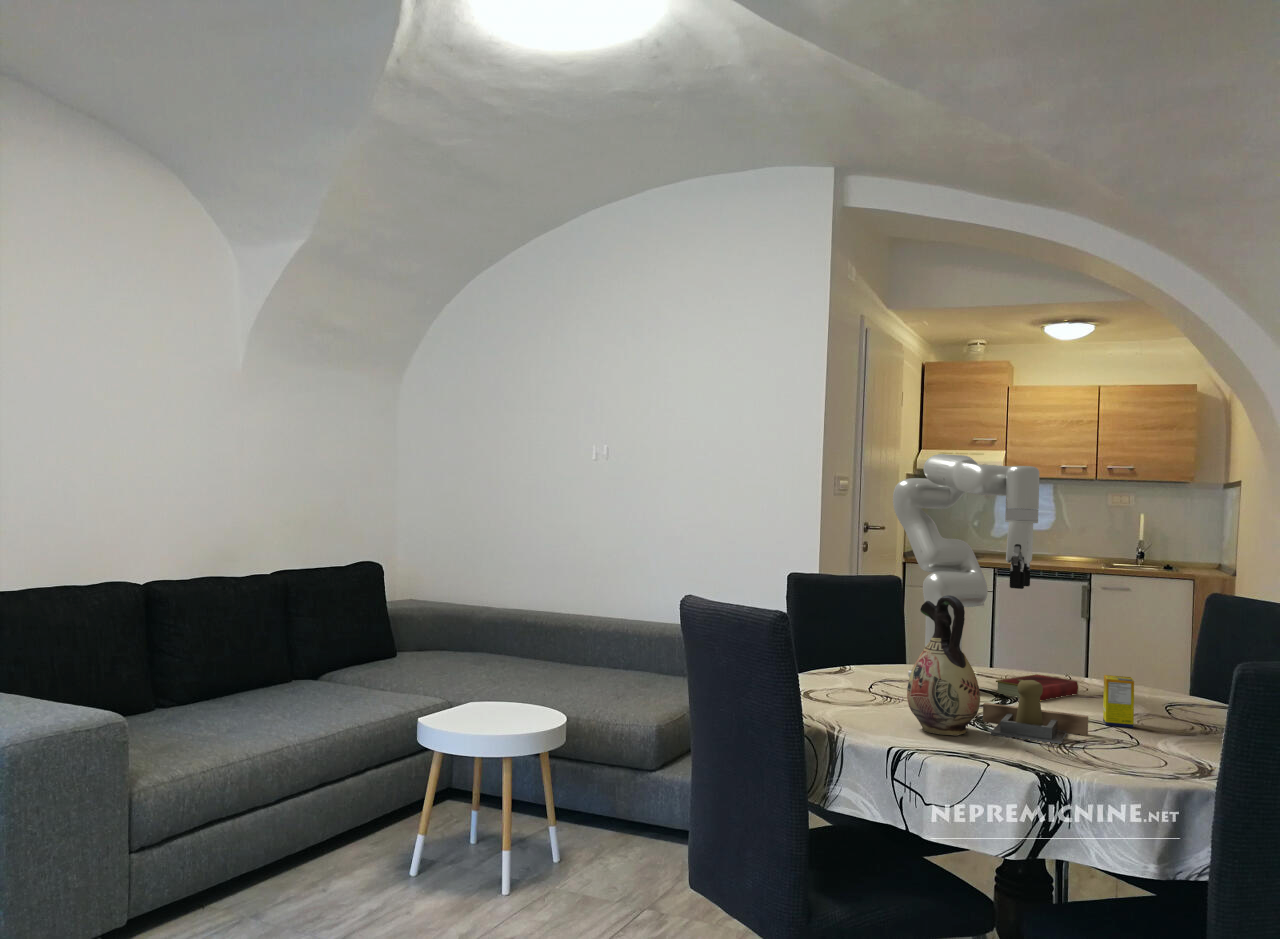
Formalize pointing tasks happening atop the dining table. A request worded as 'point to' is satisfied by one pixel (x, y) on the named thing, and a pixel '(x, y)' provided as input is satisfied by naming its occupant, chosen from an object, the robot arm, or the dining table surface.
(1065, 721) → the door edge rail
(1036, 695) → the cork
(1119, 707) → the supplement box
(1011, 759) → the dining table surface
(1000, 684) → the hardcover book
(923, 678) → the ceramic jug
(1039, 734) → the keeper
